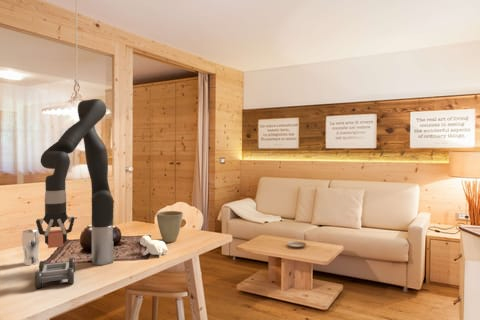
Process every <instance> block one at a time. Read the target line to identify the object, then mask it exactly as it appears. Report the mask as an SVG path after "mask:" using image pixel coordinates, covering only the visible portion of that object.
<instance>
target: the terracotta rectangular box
mask: <svg viewBox="0 0 480 320" xmlns="http://www.w3.org/2000/svg"><path fill="white" fill-rule="evenodd" d="M63 246H64V244H63V232H62V230H61V229H53V230H52V229H50V231H49V233H48V245H47V248H48V249H51V248H62V247H63Z"/></svg>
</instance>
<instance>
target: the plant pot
mask: <svg viewBox="0 0 480 320" xmlns="http://www.w3.org/2000/svg"><path fill="white" fill-rule="evenodd" d="M183 216H184V213H183V212H182V211H179V210H178V211H177V210H167V211H160V212H157V213H156V221H157V225H158V229H159V234H160V236H161V239H162V241H163V242H164V243H174V242H176V241H177V239H178V237H179V235H180V230H181V228H182V222H183Z"/></svg>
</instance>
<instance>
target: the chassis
mask: <svg viewBox="0 0 480 320" xmlns="http://www.w3.org/2000/svg"><path fill="white" fill-rule="evenodd" d="M68 259H69V260H68V261H67V260H66V261H57V262H50V263H49V262H48V263H47V261H46V260H39V263H38V264H39V265H38V271H35V273H34V289H40V288H42V287H43V283H48V282H54V281H56V282H57V281H62V280H67V284H68V285H70V284H75V272H76V271H75V270H76V258H75V257H69V258H68Z"/></svg>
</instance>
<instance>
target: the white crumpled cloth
mask: <svg viewBox="0 0 480 320" xmlns="http://www.w3.org/2000/svg"><path fill="white" fill-rule="evenodd" d="M139 244H140V245H142V246H143V247H146V249H145V250H143V251H144V252H143V253H142V256H146V255H148V254H150V255H153V256H155V255H156V256H158V258H161V256H162V254H165V255H167V254H168V251H169V249H168V248H167V244H166V242H164V241H163V240H158V239H151V237H150V236H149V235H143V236H141V237H140V239H139Z"/></svg>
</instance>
